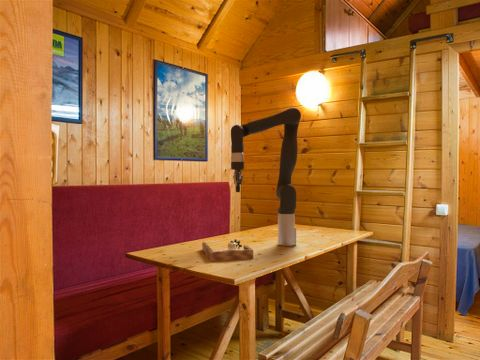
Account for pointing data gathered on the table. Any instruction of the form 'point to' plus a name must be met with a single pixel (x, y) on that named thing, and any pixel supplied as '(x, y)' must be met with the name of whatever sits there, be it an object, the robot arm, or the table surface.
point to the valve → (234, 244)
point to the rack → (227, 253)
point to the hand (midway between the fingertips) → (237, 192)
